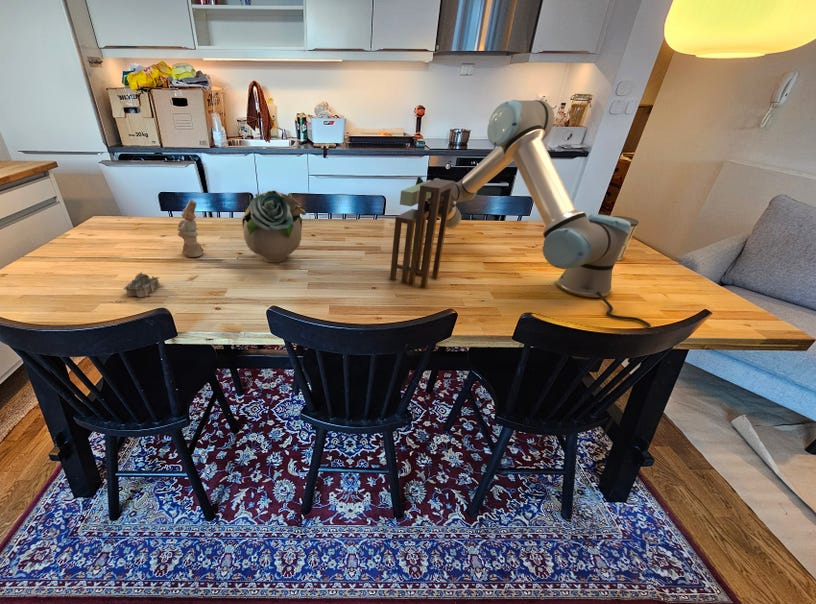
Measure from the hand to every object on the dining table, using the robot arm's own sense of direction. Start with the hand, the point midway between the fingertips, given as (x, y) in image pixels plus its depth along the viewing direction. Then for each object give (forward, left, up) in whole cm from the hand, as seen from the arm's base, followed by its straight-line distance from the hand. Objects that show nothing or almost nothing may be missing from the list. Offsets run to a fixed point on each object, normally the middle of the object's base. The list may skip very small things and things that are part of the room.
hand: (424, 182), depth 125 cm
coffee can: (-12, -80, -30) cm, 87 cm away
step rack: (-6, +3, -29) cm, 30 cm away
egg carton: (+13, +91, -30) cm, 96 cm away
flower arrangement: (+28, +45, -30) cm, 60 cm away
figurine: (+43, +74, -30) cm, 90 cm away
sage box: (-1, +2, -5) cm, 5 cm away
